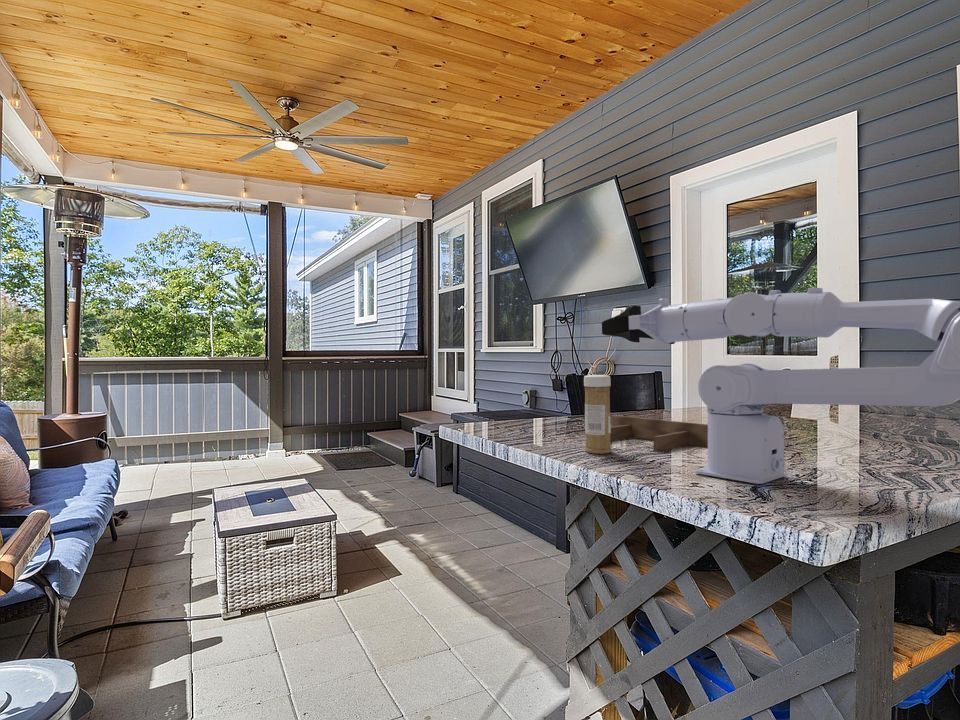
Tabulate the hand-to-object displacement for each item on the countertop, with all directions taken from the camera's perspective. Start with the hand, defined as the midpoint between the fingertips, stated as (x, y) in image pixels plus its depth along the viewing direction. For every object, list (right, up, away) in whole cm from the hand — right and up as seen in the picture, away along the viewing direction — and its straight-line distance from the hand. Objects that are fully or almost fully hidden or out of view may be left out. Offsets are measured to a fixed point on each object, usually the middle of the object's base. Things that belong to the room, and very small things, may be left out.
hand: (617, 329), depth 98 cm
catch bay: (+8, -21, +13) cm, 26 cm away
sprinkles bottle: (-2, -21, +5) cm, 22 cm away
